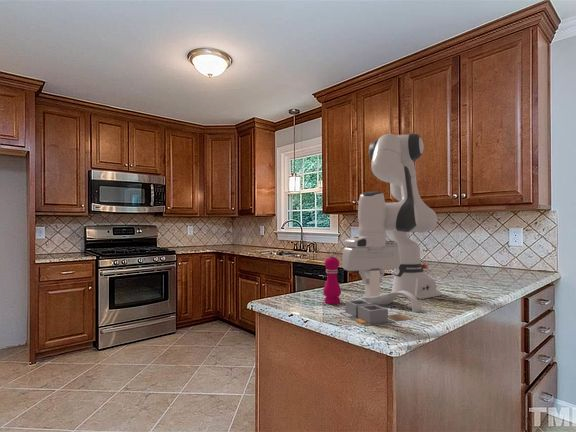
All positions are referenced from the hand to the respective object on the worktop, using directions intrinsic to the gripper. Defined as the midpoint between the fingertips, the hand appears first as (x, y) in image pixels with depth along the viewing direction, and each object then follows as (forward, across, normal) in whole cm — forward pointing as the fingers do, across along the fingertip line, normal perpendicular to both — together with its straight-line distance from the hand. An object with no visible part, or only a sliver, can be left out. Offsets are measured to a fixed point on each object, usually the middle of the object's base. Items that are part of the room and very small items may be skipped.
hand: (371, 283), depth 114 cm
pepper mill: (+13, -2, -31) cm, 34 cm away
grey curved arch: (+13, -20, -16) cm, 28 cm away
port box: (+13, 0, -4) cm, 13 cm away
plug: (+4, 0, 0) cm, 4 cm away
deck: (+13, -10, 0) cm, 16 cm away
